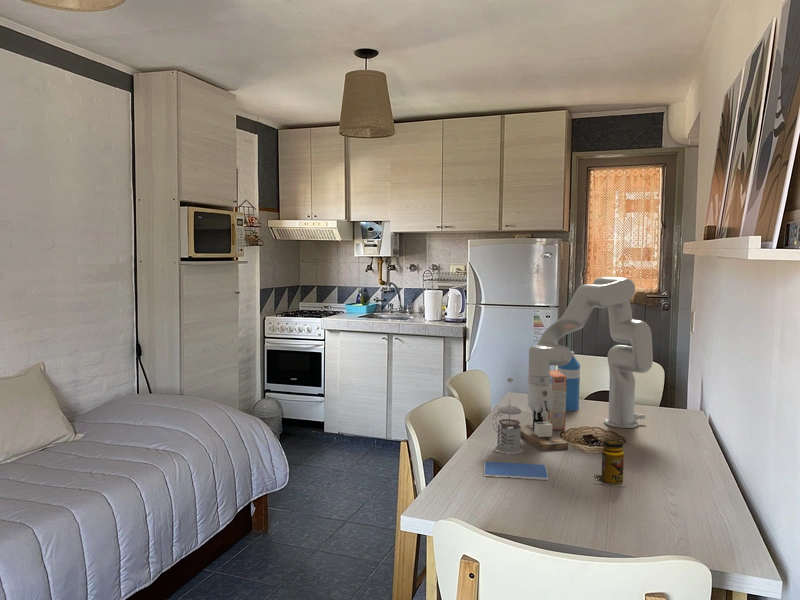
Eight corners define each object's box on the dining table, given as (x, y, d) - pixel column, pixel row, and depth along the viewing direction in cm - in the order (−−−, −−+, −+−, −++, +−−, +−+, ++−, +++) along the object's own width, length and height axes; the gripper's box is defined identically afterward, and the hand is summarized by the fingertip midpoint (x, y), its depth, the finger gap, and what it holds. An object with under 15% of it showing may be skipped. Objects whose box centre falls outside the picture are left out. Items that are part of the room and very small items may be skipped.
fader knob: (547, 433, 216) (547, 421, 215) (552, 436, 212) (552, 424, 211) (534, 433, 214) (534, 421, 214) (539, 437, 211) (539, 425, 210)
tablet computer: (483, 478, 179) (483, 474, 179) (483, 464, 191) (484, 460, 191) (549, 482, 176) (549, 478, 176) (545, 468, 188) (545, 463, 188)
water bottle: (558, 410, 258) (559, 353, 257) (556, 405, 268) (557, 349, 266) (580, 411, 257) (581, 353, 255) (577, 406, 266) (578, 350, 264)
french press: (511, 456, 197) (512, 381, 196) (484, 447, 206) (485, 376, 204) (529, 450, 204) (530, 378, 202) (502, 442, 212) (503, 373, 211)
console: (537, 429, 229) (537, 423, 229) (568, 448, 206) (568, 442, 205) (513, 430, 227) (513, 425, 227) (541, 450, 203) (541, 444, 203)
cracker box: (566, 430, 228) (567, 376, 226) (550, 430, 228) (551, 376, 226) (557, 420, 242) (558, 369, 240) (542, 420, 242) (543, 369, 240)
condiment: (624, 487, 171) (626, 446, 170) (594, 483, 174) (595, 443, 173) (623, 478, 178) (624, 439, 177) (593, 475, 180) (594, 436, 180)
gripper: (558, 383, 210) (556, 434, 211) (539, 375, 224) (538, 423, 225) (538, 384, 208) (537, 435, 209) (520, 376, 223) (519, 424, 224)
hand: (537, 429), depth 217 cm, fingers closed
